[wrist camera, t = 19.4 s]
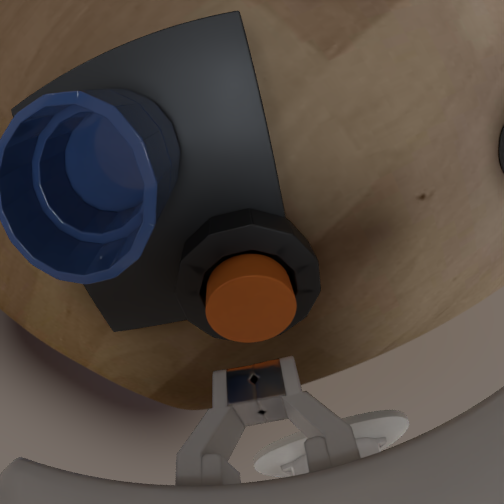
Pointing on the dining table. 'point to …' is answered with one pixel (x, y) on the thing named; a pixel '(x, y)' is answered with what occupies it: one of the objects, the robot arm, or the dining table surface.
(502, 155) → the sundae
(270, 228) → the scale
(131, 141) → the cup
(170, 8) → the dining table surface
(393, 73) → the dining table surface
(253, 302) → the button
